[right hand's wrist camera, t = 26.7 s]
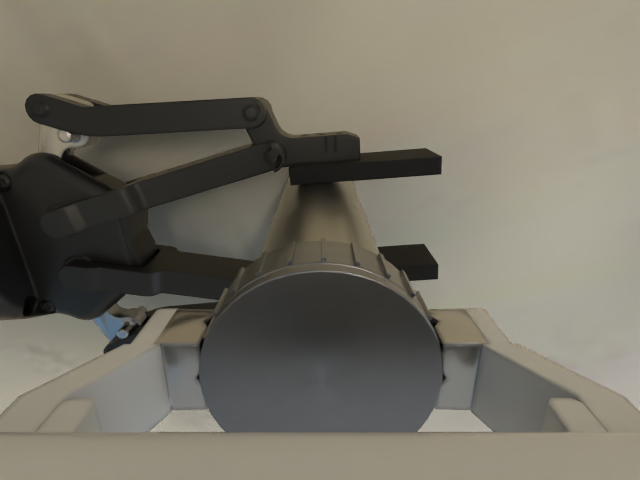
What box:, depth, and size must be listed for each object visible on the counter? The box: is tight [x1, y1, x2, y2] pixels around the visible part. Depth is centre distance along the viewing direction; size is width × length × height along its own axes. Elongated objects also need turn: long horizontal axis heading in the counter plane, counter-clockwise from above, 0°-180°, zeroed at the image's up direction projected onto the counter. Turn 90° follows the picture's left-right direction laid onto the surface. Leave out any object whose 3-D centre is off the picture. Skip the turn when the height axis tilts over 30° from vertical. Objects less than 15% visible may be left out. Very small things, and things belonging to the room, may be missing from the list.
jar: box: [260, 176, 379, 257], centre depth 17 cm, size 4×4×17 cm
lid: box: [199, 238, 444, 432], centre depth 9 cm, size 5×5×2 cm
